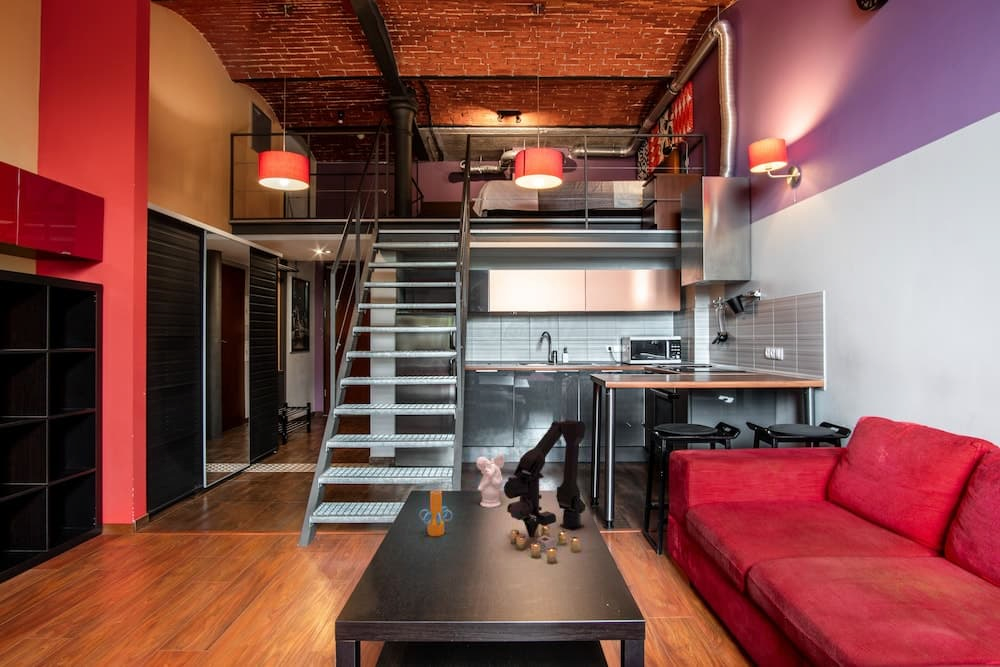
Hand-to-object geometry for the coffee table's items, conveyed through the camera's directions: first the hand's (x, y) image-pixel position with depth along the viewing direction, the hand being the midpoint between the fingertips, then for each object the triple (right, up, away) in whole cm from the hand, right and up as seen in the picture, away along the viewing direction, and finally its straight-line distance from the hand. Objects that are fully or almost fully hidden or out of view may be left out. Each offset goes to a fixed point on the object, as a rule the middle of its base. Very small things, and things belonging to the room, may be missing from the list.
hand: (531, 537), depth 175 cm
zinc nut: (+4, -2, -5) cm, 7 cm away
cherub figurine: (-14, -2, +41) cm, 44 cm away
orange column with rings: (-34, -2, +8) cm, 35 cm away
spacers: (+4, -1, -5) cm, 7 cm away
